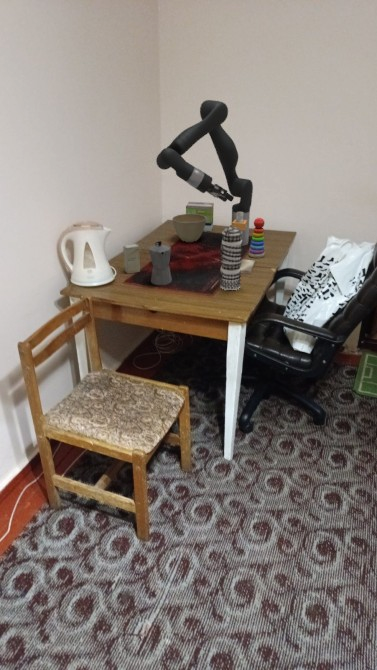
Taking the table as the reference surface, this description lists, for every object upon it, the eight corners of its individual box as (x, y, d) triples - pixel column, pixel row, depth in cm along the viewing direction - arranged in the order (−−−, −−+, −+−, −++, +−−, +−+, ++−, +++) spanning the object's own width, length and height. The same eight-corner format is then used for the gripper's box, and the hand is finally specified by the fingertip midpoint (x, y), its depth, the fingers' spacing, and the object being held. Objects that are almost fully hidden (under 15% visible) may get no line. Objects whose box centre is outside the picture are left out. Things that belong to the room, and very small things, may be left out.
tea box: (185, 231, 265) (185, 205, 258) (188, 226, 274) (188, 201, 267) (211, 232, 263) (211, 206, 256) (213, 227, 272) (213, 202, 264)
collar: (232, 229, 202) (232, 222, 200) (234, 226, 206) (234, 219, 205) (244, 230, 200) (244, 223, 199) (246, 226, 205) (246, 220, 204)
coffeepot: (175, 286, 194) (173, 245, 185) (153, 288, 192) (151, 247, 184) (168, 273, 207) (166, 234, 199) (147, 275, 205) (145, 236, 197)
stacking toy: (264, 258, 222) (266, 220, 213) (247, 258, 223) (249, 220, 214) (265, 253, 229) (267, 216, 220) (249, 252, 230) (251, 215, 221)
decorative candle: (244, 289, 190) (247, 230, 177) (223, 292, 187) (225, 232, 175) (236, 281, 197) (238, 224, 185) (216, 284, 195) (217, 226, 183)
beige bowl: (185, 233, 261) (185, 212, 255) (212, 238, 252) (212, 216, 246) (166, 241, 248) (165, 219, 242) (193, 247, 239) (193, 224, 233)
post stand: (219, 271, 208) (221, 215, 196) (226, 261, 220) (227, 207, 208) (250, 274, 205) (253, 217, 192) (254, 263, 217) (258, 209, 204)
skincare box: (128, 274, 207) (126, 248, 201) (124, 270, 211) (122, 245, 205) (141, 271, 210) (139, 245, 204) (137, 268, 213) (135, 243, 207)
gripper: (207, 170, 189) (239, 191, 195) (199, 173, 203) (228, 192, 208) (199, 187, 190) (230, 207, 195) (190, 188, 203) (220, 207, 209)
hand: (229, 199), depth 202 cm, fingers open, 8 cm apart
